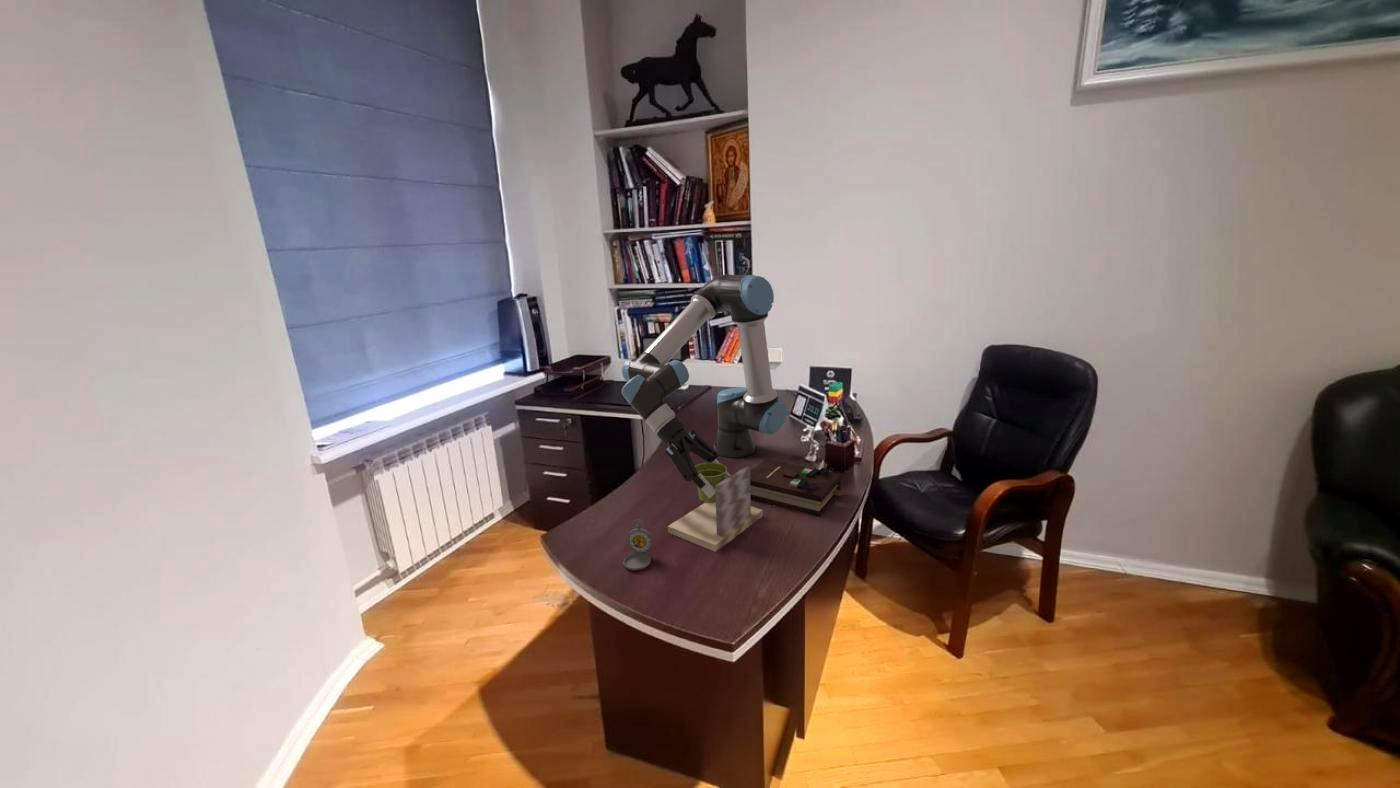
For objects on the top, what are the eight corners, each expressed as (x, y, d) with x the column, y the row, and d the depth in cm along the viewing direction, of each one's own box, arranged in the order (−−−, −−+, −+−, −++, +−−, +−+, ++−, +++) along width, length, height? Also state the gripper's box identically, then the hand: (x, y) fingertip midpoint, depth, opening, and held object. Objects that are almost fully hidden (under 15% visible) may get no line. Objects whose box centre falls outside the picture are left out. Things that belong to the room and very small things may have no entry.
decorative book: (760, 453, 178) (850, 471, 162) (760, 474, 180) (849, 494, 165) (731, 475, 163) (828, 497, 147) (731, 498, 165) (827, 522, 149)
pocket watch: (628, 574, 129) (624, 537, 126) (618, 556, 136) (615, 521, 133) (660, 565, 132) (658, 528, 129) (649, 548, 139) (647, 513, 136)
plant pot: (693, 490, 153) (692, 462, 150) (727, 490, 153) (726, 461, 150) (692, 506, 144) (691, 476, 141) (728, 506, 144) (727, 476, 141)
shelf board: (717, 501, 163) (715, 451, 158) (762, 516, 153) (762, 463, 148) (668, 532, 146) (664, 478, 142) (715, 552, 137) (713, 494, 132)
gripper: (676, 420, 160) (727, 478, 157) (636, 446, 141) (694, 512, 138) (692, 404, 156) (744, 464, 153) (653, 429, 137) (712, 497, 134)
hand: (720, 487), depth 146 cm, fingers closed on plant pot, 9 cm apart
